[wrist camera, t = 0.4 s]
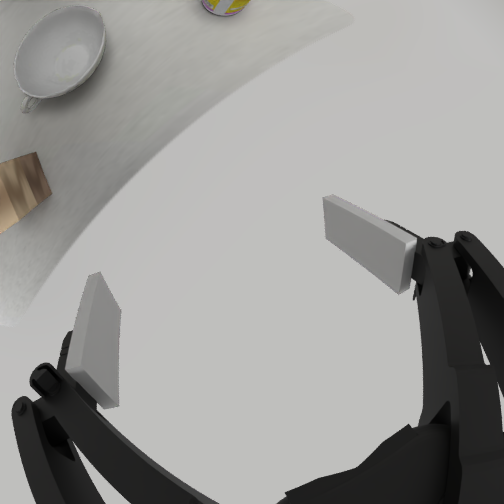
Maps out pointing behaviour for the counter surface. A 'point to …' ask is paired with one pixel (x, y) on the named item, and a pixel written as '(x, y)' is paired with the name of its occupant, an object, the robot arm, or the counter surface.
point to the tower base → (35, 177)
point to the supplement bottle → (225, 6)
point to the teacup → (59, 53)
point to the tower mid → (14, 194)
